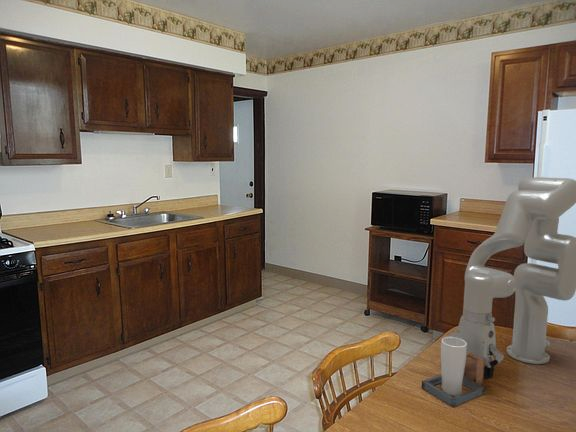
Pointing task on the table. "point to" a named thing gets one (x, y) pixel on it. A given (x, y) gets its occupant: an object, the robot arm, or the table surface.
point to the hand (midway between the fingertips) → (473, 371)
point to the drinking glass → (453, 364)
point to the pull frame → (470, 379)
